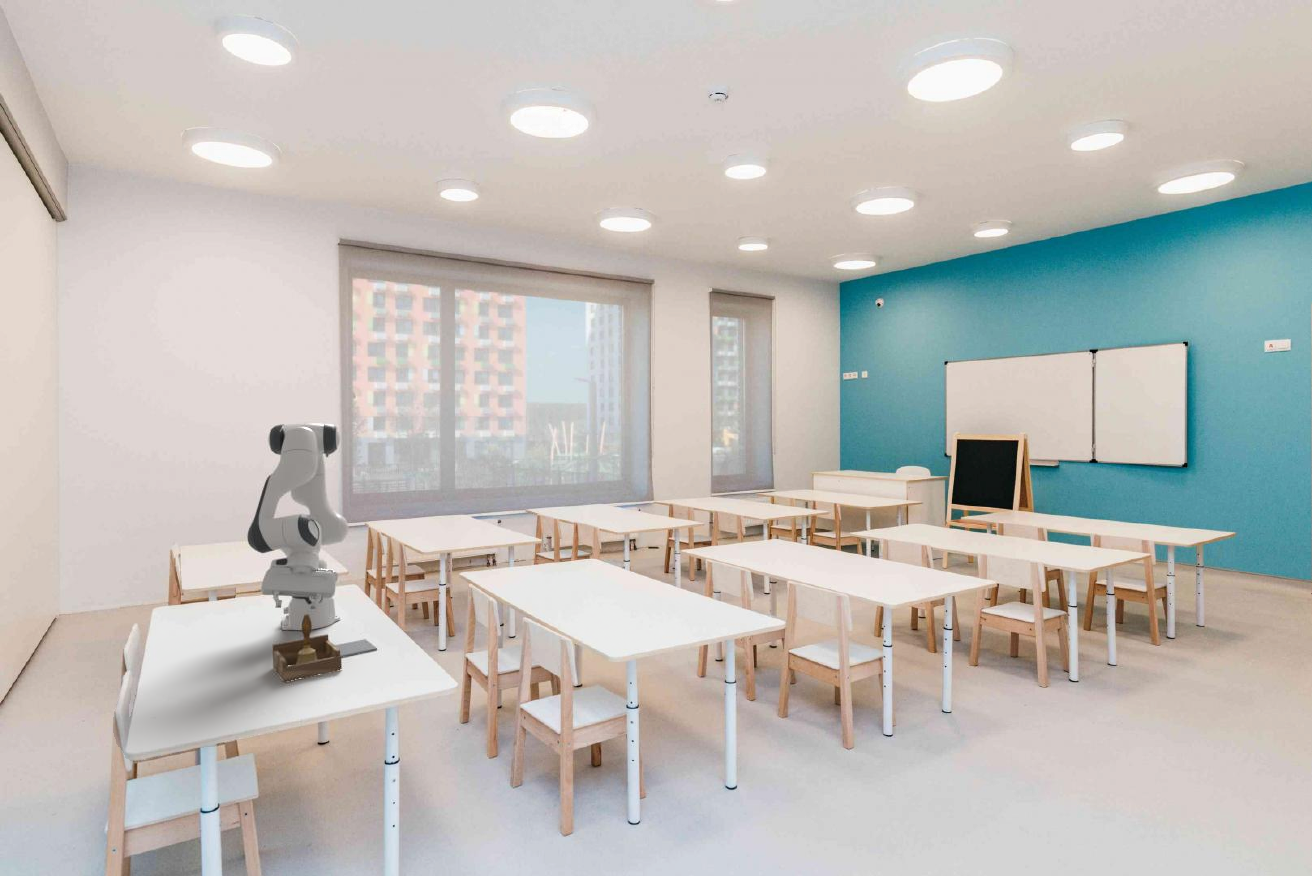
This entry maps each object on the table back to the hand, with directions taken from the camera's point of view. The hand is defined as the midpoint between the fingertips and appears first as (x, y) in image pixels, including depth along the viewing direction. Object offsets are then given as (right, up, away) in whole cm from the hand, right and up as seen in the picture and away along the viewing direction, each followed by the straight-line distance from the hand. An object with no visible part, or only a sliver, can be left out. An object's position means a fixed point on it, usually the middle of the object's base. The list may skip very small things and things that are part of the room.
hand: (295, 607), depth 211 cm
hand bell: (+6, -17, -5) cm, 19 cm away
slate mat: (+11, -16, +12) cm, 23 cm away
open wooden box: (+6, -17, -5) cm, 18 cm away
